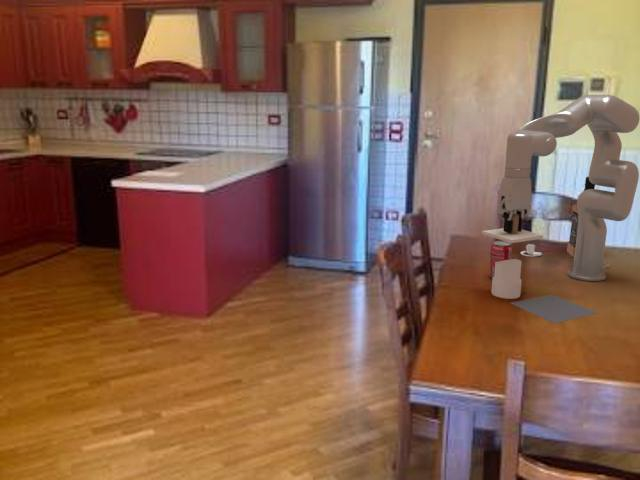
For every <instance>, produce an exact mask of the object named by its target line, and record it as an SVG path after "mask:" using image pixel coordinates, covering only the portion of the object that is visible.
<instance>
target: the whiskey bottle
mask: <svg viewBox="0 0 640 480" xmlns="http://www.w3.org/2000/svg"><path fill="white" fill-rule="evenodd" d="M584 181H585V183H584V189H583V191H585V190H588V189H596V188H595V187H596V185H595V184H592V183H591V182H590V181H589V176H586V177H585V180H584ZM571 208H572V209H571V211H572V218H571V225H570V233H569V239H568V240H569V241H568V243H567V246H566V252H567V254H569V255H570V256H571V257H572V258H574V256H575V247H576V238H577V230H578V207H577V203H575V204H574V205H572V207H571Z"/></svg>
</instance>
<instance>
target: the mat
mask: <svg viewBox="0 0 640 480" xmlns="http://www.w3.org/2000/svg"><path fill="white" fill-rule="evenodd" d="M509 304H510V305H513V306H515V307H517V308H520V309H522V310H524V311H527V312H529V313H531V314H533V315H534V316H537V317H540V318H542V319H544V320H547V321H549V322H551V323H553V324H557V323H561V322H566V321H570V320H575V319H579V318H583V317H588V316H592V315H596V314H599V312H598V311H594V310H592V309H589V308H587V307H584V306H581V305H580V304H578V303H574V302H572V301H569V300H567V299H564V298H561V297H559V296H556V295H554V294H548V295H544V296H538V297H533V298H528V299H523V300H519V301H513V302H509Z"/></svg>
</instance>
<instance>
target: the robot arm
mask: <svg viewBox="0 0 640 480" xmlns="http://www.w3.org/2000/svg"><path fill="white" fill-rule="evenodd" d="M639 124H640V113H639V111H638V110H637V108H635V107H634V106H633V105H631V104H630V103H628V102H626V101H625V100H623V99H622V98H619V97H617V96H615V95H611V94H584V95H582V96H580V97H578V98H576V99H575V100H574V101H572V102H571V103H569V104H568V105H567V106H565V107H563V108H562V109H561V110H559V111H557V112H554V113H551V114H548V115H545V116H542V117H539V118H536V119H534V120H532V121H529V122H527V123H525V124H523V125H522V126H520V127H519V128H518V129H517V130H515V132H511V133H508V135H507V138H506V139H507V140H506V151H505V164H504V177H501V179H500V181H501V182H500V184H499V188H498V194H497V205H496V207H497V209H496V212H497V214H499V215H501V217H502V219H503V228H504V229H503V230H504V231H505V232H508V233H512V228H513V220H512V215H513V214H519V223H518V231H519V232H521V230H523V229H522V228H523V220H524V219H525V216H526V215H527V214H528V212H529V211H530V210H531V209H532V206H531V202H532V180H531V179H532V178H531V173H532V169H531V168H532V167H531V166H532V157H533V156H535V157H547V156H550V155H551V154H553V153H554V152H555V151H556V149H557V145H558V142H557V138H563V137H568V136H571V135H574V134H575V133H576V132H578V131H580V130H581V129H582V128H583V127H585V126H588V128H589V129H590V132H591V134H592V137H593V139H594V148H593V152H592V156H591V161H590V165H589V171H588V177H589V181H590V182H591V183H592V184H595V186H599V187H605V188H606V187H607V188H613V189H614V191H611V190H610V191H609V190H603V189H596V188H595V189H588V190H585V191H584V190H582V192H580V194H579V195H578V197H577V202H576V204H577V207H578V230H577V238H576V247H575V256H574V257H573V265H572V266H573V267H572V268H570V269H569V270H568V271H567V275H568V276H569V277H571V278H573V279H577V280H580V281H587V282H601V281H604V280H606V278H607V274H606V273H605V272H604V271H605V270H609V269H611V265H610V264H609V263H604V256H605V250H606V249H605V248H606V240H607V234H608V232H607V231H608V229H607V225H606V224H607V223H606V222H605V220H607V221H608V220H610V221H615V222H623V221H625V220H626V219H627V218H628V217H629V215H630V214H631V211H632V208H633V203H634V199H635V195H636V192H637V187H638V183H639V179H640V178H639V177H640V172H639V168H638V166H637V164H635V163H634V162H632V161H629V160H621V159H620V158H621V152H622V146H623V144H622V140H621V137H620V136H619V134H628V133H632V132H633V131H635V130H636V128H637V127H638V125H639ZM618 133H619V134H618Z"/></svg>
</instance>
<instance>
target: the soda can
mask: <svg viewBox="0 0 640 480" xmlns="http://www.w3.org/2000/svg"><path fill="white" fill-rule="evenodd" d="M512 255H513V247H512V243H509V242H506V241H503V240H496V241H493V242H492V245H491V247H490V261H489V277H490V278H491V279H493V277H494V272H495V262H499V261H505V260H510V259H513V257H512Z"/></svg>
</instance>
